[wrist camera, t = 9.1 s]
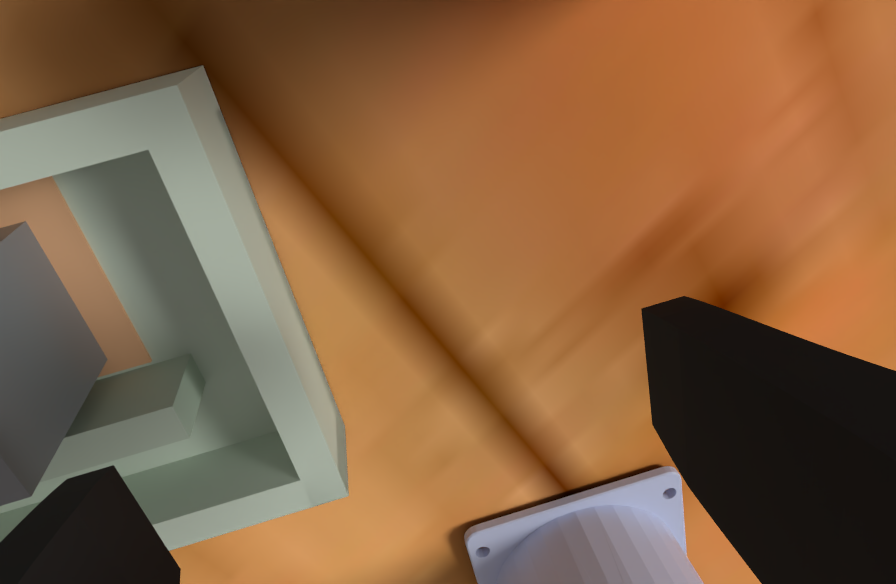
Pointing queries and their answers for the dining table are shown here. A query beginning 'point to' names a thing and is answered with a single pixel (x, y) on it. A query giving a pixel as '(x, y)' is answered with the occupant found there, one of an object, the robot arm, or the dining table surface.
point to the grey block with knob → (37, 362)
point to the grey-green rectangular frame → (173, 312)
